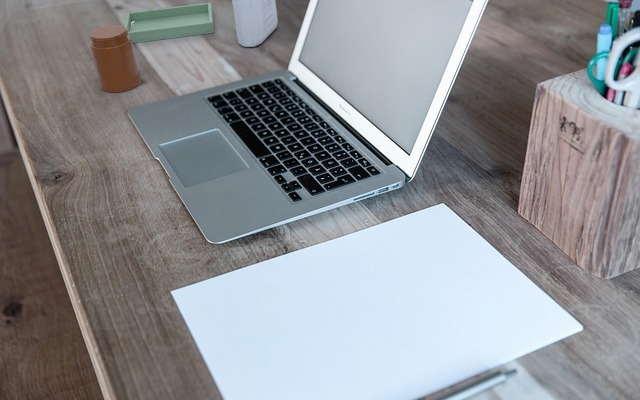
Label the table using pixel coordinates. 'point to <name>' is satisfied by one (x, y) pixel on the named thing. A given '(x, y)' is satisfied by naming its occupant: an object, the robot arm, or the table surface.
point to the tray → (170, 22)
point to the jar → (115, 58)
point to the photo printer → (254, 20)
